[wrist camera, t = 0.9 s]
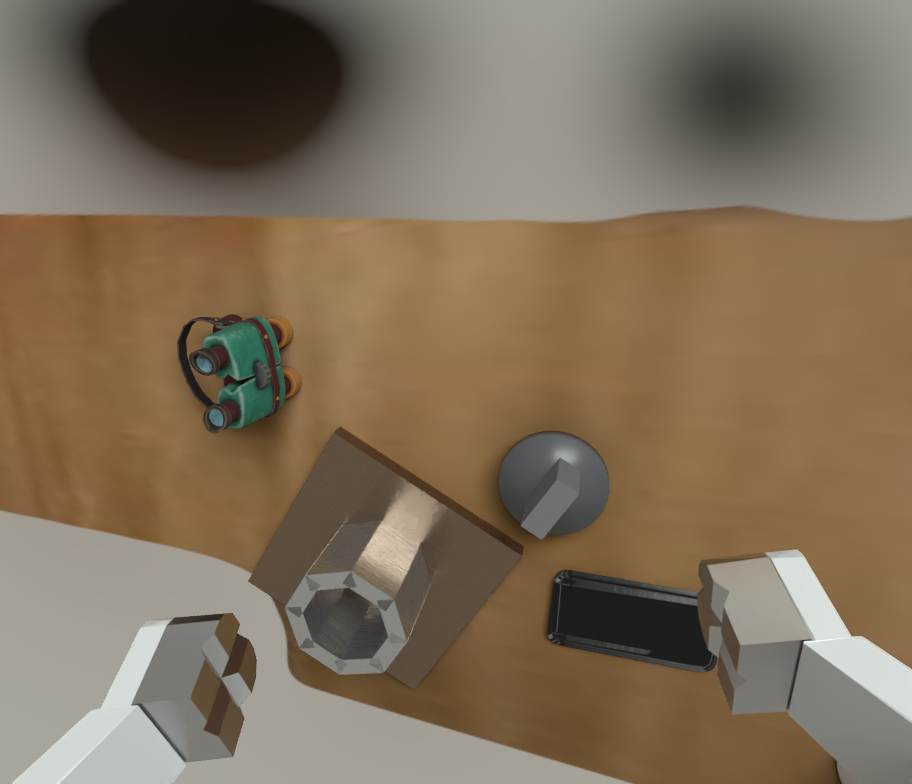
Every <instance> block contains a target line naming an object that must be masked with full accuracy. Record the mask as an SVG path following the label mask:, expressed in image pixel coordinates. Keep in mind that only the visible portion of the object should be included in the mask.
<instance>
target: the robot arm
mask: <svg viewBox="0 0 912 784" xmlns="http://www.w3.org/2000/svg"><path fill="white" fill-rule="evenodd" d="M699 578H700V580H701V583H702V586H703V588H702V589H701V590H700V591H699V592H698V593H697V608H698V615H699V622H700V626H701V629H702V633H703V636H704V639H705V642H706V645H707V648H708V650H709V651H710V652H712V653H713V654H714V655H715V656H717V657H718V658H719V660H718V673H717V675H718V678H719V681H720V683H721V686H722V689H723V692H724V694H725V697H726V700H727V702H728V705H729V708H730V710H731V713H732V714H748V713H766V712H783V711H789V712H788V715H790V716H791V717H792V718H793V719H794V720H795V721H796V722H797V723H798V724H799V725H800V726H801V727H802V728H803V729H804V730H805V731H806V732H807V733H808V734H809V735H810V736H811V737H812V738H814V739H815V740H816V741H817V742H818V743H819V744H820V745H821V746H822V747H823V748H824V749H825V750H826V751H827V752H828V753H829V754H830V755H831V756H832V757H833V758H834V759H835V760H836V761H837V769H838V774H839V777H840V780H841V783H842V784H912V669H910V668H909V667H907V666H906V665H904V664H903V663H901V662H900V661H898V660H897V659H895V658H894V657H892V656H891V655H889V654H888V653H886V652H885V651H883V650H882V649H880V648H879V647H877V646H876V645H875V644H873V643H872V642H870V641H869V640H867V639H866V638H864V637H863V636H853V637H852V636H851V635H850V633H849V631H848V630H847V628H846V626H845V625H844V623H843V621H842V620H841V618H840V616H839V615H838V613H837V611H836V609H835V608H834V606H833V604H832V603H831V601H830V599H829V598H828V596H827V594H826V593H825V591H824V589H823V588H822V586H821V584H820V582H819V581H818V579H817V577H816V576H815V574H814V572H813V571H812V569H811V567H810V566H809V564H808V562H807V561H806V559H805V557H804V555H803V554H802V553H800V552H799V551H798V550H787V551H778V552H769V553H764V554H763V553H754V554H746V555H738V556H730V557H722V558H714V559H706V560H701V562H700V564H699ZM239 626H240V624H239V622H238V621H237V619H236V618H235V616H234V615H233V613H226V614H213V615H201V616H189V617H176V618H167V619H156V620H148V621H147V622H146V623H145V624H144V625H143V626H142V627H141V628H140V629H139V631H138V633H137V635H136V637H135V639H134V641H133V643H132V645H131V647H130V649H129V651H128V653H127V656H126V657H125V659H124V661H123V663H122V665H121V667H120V669H119V671H118V674H117V676H116V678H115V680H114V682H113V684H112V686H111V688H110V690H109V692H108V694H107V696H106V698H105V700H104V702H103V704H102V706H101V708H100V709H92V710H91V711H90V712H89V713H88V714H87V715H86V716H85V717H84V718H82V719H81V720H80V721H79V722H78V723H77V724H76V725H75V726H74V727H73V728H72V729H70V730H69V731H68V732H67V733H66V734H65V735H64V736H63V737H62V738H61V739H60V740H58V741H57V742H56V743H55V744H54V745H53V746H52V747H51V748H50V749H49V750H48V751H46V752H45V753H44V754H43V755H42V756H41V757H40V758H39V759H38V760H37V761H36V762H35V763H34V764H32V765H31V766H30V767H29V768H28V769H27V770H26V771H25V772H24V773H23V774H21V775H20V776H19V777H18V778H17V779H16V780H15V781H14V782H13V783H12V784H172V783H173V782H174V781H175V780H176V778H177V777H178V776H179V774H180V773H181V772H182V771H183V769H184V768H185V767H186V763H185V762H193V761H202V760H210V759H219V758H227V757H233V755H234V752H235V748H236V745H237V741H238V737H239V735H240V731H241V728H242V725H243V721H244V716H243V714H242V711H241V709H240V706H241V704H242V703H243V702H244V701H245V700H246V699H247V698H248V697H249V696H250V695H251V693H252V690H253V686H254V682H255V679H256V661H257V660H256V656H255V652H254V648H253V646H252V644H251V642H250V641H249V639H247V638H245V637H243V636H241V635H239V634H238V633H237V632H238V629H239Z"/></svg>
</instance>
